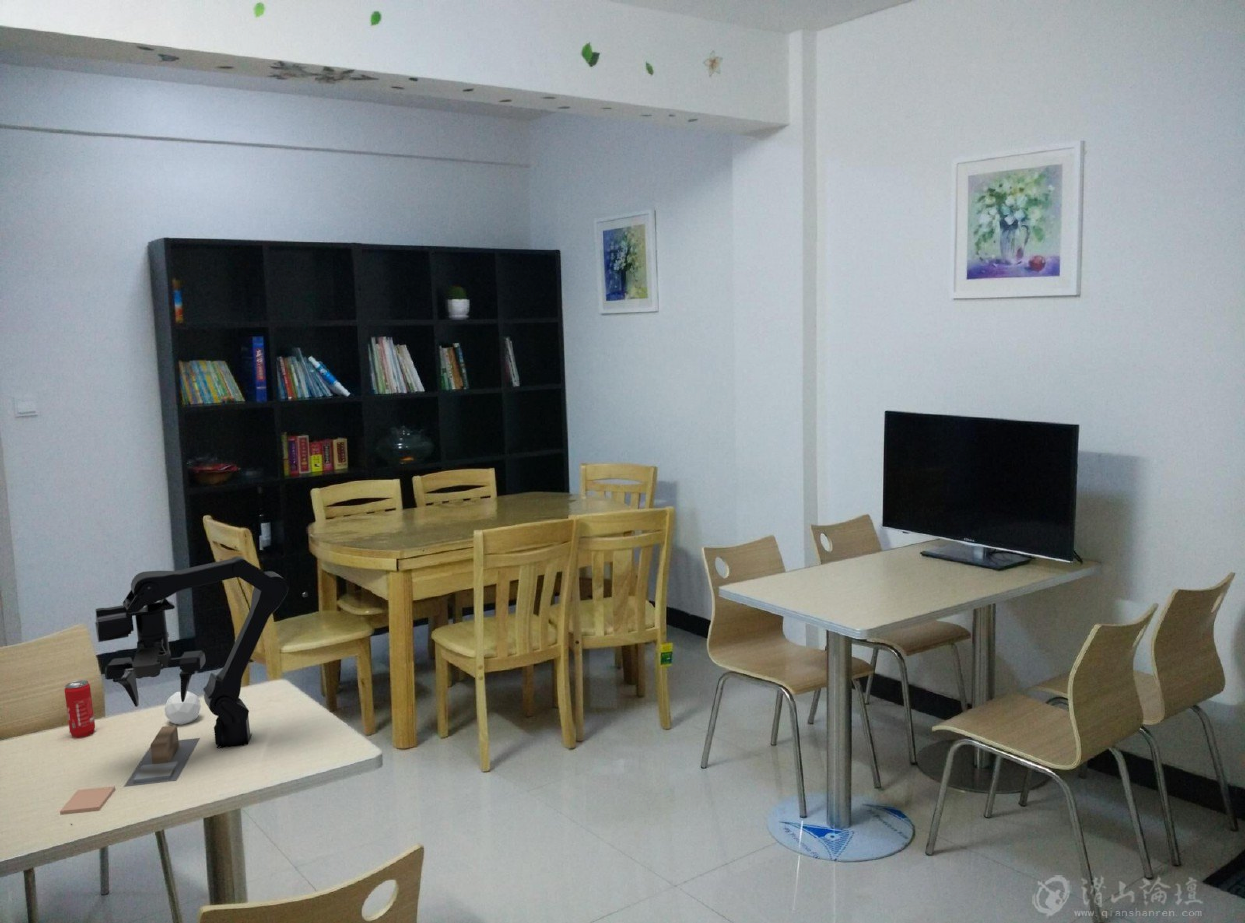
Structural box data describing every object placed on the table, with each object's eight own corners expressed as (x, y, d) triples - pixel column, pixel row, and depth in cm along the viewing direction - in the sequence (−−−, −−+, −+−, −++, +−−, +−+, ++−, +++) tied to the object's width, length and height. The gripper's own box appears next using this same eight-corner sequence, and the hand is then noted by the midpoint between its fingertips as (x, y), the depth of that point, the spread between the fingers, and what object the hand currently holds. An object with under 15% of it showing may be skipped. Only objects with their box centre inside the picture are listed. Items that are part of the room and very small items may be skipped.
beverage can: (85, 739, 234) (78, 688, 232) (65, 738, 235) (58, 687, 233) (100, 730, 239) (94, 680, 237) (81, 729, 240) (75, 679, 238)
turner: (154, 749, 225) (152, 727, 224) (189, 745, 226) (186, 724, 225) (133, 783, 208) (130, 760, 207) (170, 779, 209) (167, 755, 209)
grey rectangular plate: (200, 740, 230) (200, 737, 230) (176, 783, 209) (176, 780, 209) (152, 745, 228) (152, 743, 228) (124, 789, 207) (123, 786, 207)
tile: (115, 786, 206) (99, 806, 197) (116, 794, 206) (100, 815, 197) (77, 790, 205) (60, 811, 196) (78, 798, 205) (61, 819, 196)
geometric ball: (183, 731, 243) (186, 698, 247) (207, 723, 240) (209, 689, 244) (155, 726, 237) (158, 692, 241) (179, 717, 234) (182, 683, 238)
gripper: (92, 648, 207) (101, 723, 209) (190, 639, 210) (198, 712, 213) (109, 632, 218) (117, 703, 220) (202, 624, 221) (209, 693, 223)
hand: (160, 703), depth 219 cm, fingers open, 9 cm apart
